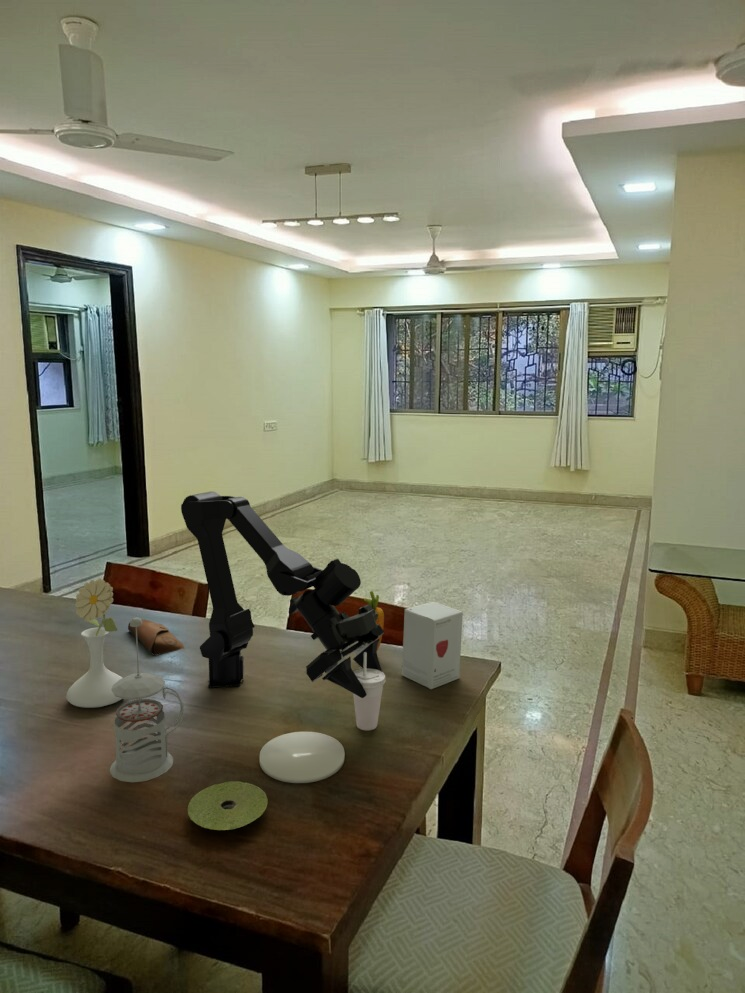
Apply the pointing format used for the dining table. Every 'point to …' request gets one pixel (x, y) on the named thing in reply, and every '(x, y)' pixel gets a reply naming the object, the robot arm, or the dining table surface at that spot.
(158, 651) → the sunglasses case
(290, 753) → the plate
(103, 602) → the flower in vase
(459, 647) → the supplement box
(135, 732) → the french press
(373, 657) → the robot arm
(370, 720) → the smoothie
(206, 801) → the green disc
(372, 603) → the carrot
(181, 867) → the dining table surface
